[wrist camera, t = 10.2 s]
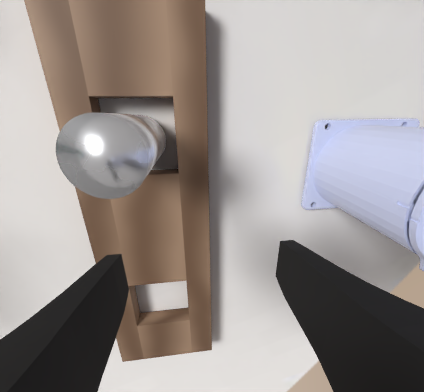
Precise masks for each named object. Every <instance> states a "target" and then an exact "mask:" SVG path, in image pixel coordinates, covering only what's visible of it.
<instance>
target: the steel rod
mask: <svg viewBox="0 0 424 392" xmlns="http://www.w3.org/2000/svg"><path fill="white" fill-rule="evenodd" d="M165 146H166V136H165V133H164V130H163V128H162V127H161V126H160V124H159V123H158V122H157V121H155V120H154V119H152V118H151V117H148V116H145V115H132V114H114V113H85V114H82V115H79V116H76V117H74V118H73V119H71V120H70V121H68V122H67V123H66V124H65V125H64V126H63V128H62V129H61V131H60V133H59V135H58V138H57V142H56V156H57V160H58V163H59V166H60V168H61V170H62V172H63V173H64V175H65V176H66V178H67V179H68V180H69V181H70V182H71V183H72V184H73V185H74V186H75V187H77V188H78V189H79V190H81V191H83V192H84V193H86V194H89V195H91V196H94V197H97V198H103V199H116V198H121V197H124V196H127V195H129V194H131V193H132V192H134V191H135V190H136V189H137V188H138V187H139V186H140V185H141V184H142V182H143V181H144V179H145V178H146V176H147V175H148V174H149V172H150V171H151V169H152V168H153V166H154V165H155V163H156V162H157V160H158V159H159V158H160V156H161V155H162V153H163V152H164V150H165Z"/></svg>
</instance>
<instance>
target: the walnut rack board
mask: <svg viewBox="0 0 424 392" xmlns="http://www.w3.org/2000/svg"><path fill="white" fill-rule="evenodd" d="M24 1H25V5H26V9H27V12H28V16H29V20H30V23H31V27H32V31H33V34H34V38H35V42H36V45H37V49H38V53H39V56H40V60H41V64H42V67H43V71H44V75H45V78H46V82H47V86H48V89H49V93H50V97H51V100H52V104H53V108H54V111H55V115H56V119H57V122H58V126H59V130H60V131H61V129H62V128H63V126H64V125H65V124H66V123H67V122H68V121H70V120H71V119H73V118H74V117H76V116H79V115H82V114H85V113H101V111H100V106H99V101H98V98H173V103H174V117H175V130H176V144H177V157H178V169H166V170H151V171H150V172H149V174H148V175H147V176H146V178H145V179H144V181H143V182H142V184H141V185H140V186H139V187H138V188H137V189H136V190H135V191H134V192H132V193H131V194H129V195H127V196H124V197H121V198H116V199H103V198H97V197H94V196H91V195H89V194H86V193H84V192H83V191H81V190H79V189H78V188H77V187H75V188H76V192H77V196H78V199H79V203H80V207H81V210H82V214H83V218H84V221H85V225H86V229H87V232H88V236H89V240H90V243H91V247H92V251H93V254H94V258H95V262H96V263H98V262H99V261H100V260H101V259H102V258H104V257H105V256H106V255H113V254H122V259H123V263H124V268H125V273H126V278H127V282H128V287H129V293H128V298H127V302H126V307H125V311H124V315H123V318H122V321H121V324H120V327H119V330H118V333H117V335H116V339H117V342H118V346H119V350H120V353H121V357H122V361H123V362H124V361H132V360H139V359H147V358H154V357H162V356H169V355H177V354H184V353H192V352H199V351H207V350H212V340H211V287H210V234H209V182H208V129H207V76H206V23H205V0H24ZM186 280H187V292H188V306H189V308H182V309H173V310H164V311H155V312H146V313H140V310H139V305H138V300H137V295H136V290H135V285H144V284H155V283H165V282H175V281H186Z"/></svg>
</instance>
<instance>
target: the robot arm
mask: <svg viewBox="0 0 424 392" xmlns="http://www.w3.org/2000/svg"><path fill="white" fill-rule="evenodd" d="M402 123H403V124H402ZM419 123H420V122H419V120H418V119H358V120H319V121H317V122H316V123H315V125H314V129H313V135H312V141H311V148H310V154H309V160H308V166H307V172H306V178H305V185H304V191H303V197H302V203H301V206H302V207H303V208H304V209H306V210H309V209H325V208H340V209H342V210H343V211H345V212H347V213H348V214H350V215H352V216H353V217H355V218H357V219H358V220H360V221H362V222H363V223H365V224H367V225H369V226H370V227H372V228H374V229H375V230H377V231H379V232H380V233H382V234H384V235H385V236H387V237H389V238H390V239H392V240H394V241H395V242H397V243H399V244H400V245H402V246H404V247H405V248H407V249H409V250H411V251H412V252H414V253H416V254H417V255H418V256H419V258H420V266H419V268H420V269H421V270H422V271H424V127H419ZM326 124H328V127H327V129H325V125H326ZM401 125H402V126H401ZM312 202H314V203H313V205H311V203H312ZM276 277H277V280H278V283H279V285H280V288H281V290H282V292H283V295H284V297H285V299H286V301H287V303H288V304H289V306H290V308H291V310H292V312H293V313H294V315H295V317H296V319H297V321H298V322H299V324H300V326H301V328H302V329H303V331H304V333H305V335H306V337H307V338H308V340H309V342H310V344H311V346H312V347H313V349H314V351H315V353H316V355H317V357H318V359H319V361H320V363H321V365H322V368H323V370H324V372H325V374H326V376H327V378H328V380H329V383H330V385H331V387H332V389H333V392H424V309H423V308H421V307H419V306H417V305H414V304H412V303H409V302H407V301H405V300H403V299H401V298H399V297H397V296H394V295H392V294H390V293H388V292H386V291H384V290H382V289H380V288H378V287H376V286H373V285H371V284H370V283H368V282H366V281H364V280H362V279H360V278H358V277H356V276H354V275H353V274H351V273H349V272H347V271H345V270H343V269H342V268H340V267H338V266H336V265H335V264H333V263H331V262H330V261H328V260H326V259H324V258H323V257H321V256H319V255H318V254H316V253H314V252H313V251H311V250H309V249H308V248H306V247H304V246H303V245H301V244H299V243H297V242H295V241H293V240H288V241H280V247H279V254H278V262H277V270H276ZM128 293H129V287H128V282H127V278H126V273H125V268H124V263H123V259H122V254H113V255H106V256H105V257H104V258H102V259H101V260H100V261H99V262H98V263H96V264H95V265H94V266H93V267H92V268H91V269H90V270H88V271H87V272H86V273H85V274H84V275H83V276H81V277H80V278H79V279H78V280H77V281H76V282H74V283H73V284H72V285H71V286H70V287H69V288H67V289H66V290H65V291H64V292H63V293H61V294H60V295H59V296H58V297H56V298H55V299H54V300H52V301H51V302H50V303H49V304H47V305H46V306H45V307H44V308H42V309H41V310H40V311H39V312H37V313H36V314H35V315H34V316H32V317H31V318H30V319H28V320H27V321H26V322H24V323H23V324H22V325H20V326H19V327H17V328H16V329H15V330H13V331H12V332H10V333H9V334H8V335H6V336H5V337H3V338H2V339H0V392H97V391H98V388H99V385H100V382H101V378H102V375H103V373H104V370H105V367H106V364H107V361H108V358H109V355H110V353H111V350H112V347H113V344H114V341H115V338H116V335H117V333H118V330H119V327H120V324H121V321H122V318H123V315H124V311H125V307H126V302H127V298H128Z"/></svg>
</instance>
